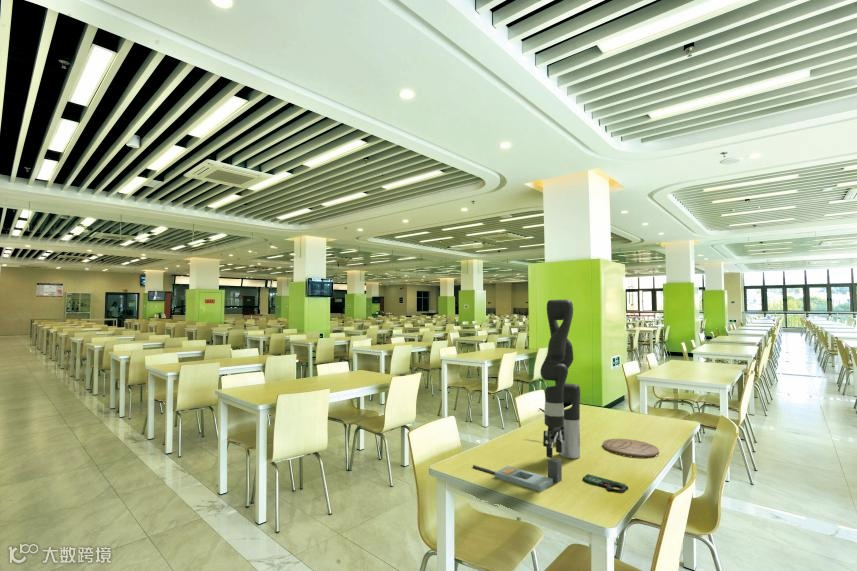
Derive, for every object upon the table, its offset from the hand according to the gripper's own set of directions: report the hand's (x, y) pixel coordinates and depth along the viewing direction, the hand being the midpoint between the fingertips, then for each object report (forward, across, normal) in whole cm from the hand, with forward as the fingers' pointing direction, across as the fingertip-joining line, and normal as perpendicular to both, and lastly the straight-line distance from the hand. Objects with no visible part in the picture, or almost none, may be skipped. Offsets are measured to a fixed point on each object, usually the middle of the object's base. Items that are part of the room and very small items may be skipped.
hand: (554, 454), depth 169 cm
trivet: (+10, -63, +10) cm, 65 cm away
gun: (+11, -10, +16) cm, 21 cm away
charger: (+10, 0, 0) cm, 10 cm away
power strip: (+10, +9, -16) cm, 20 cm away
